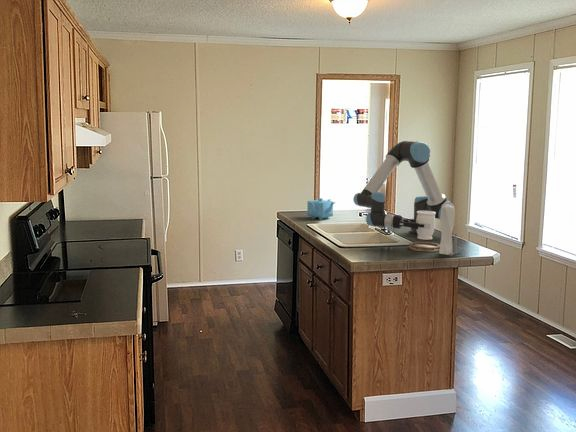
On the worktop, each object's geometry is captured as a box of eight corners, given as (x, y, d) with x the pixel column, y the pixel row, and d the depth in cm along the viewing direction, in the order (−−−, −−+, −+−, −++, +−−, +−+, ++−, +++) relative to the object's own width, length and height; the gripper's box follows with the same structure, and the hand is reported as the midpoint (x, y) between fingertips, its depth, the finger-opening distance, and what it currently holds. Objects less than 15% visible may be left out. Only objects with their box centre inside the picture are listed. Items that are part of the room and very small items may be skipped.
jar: (434, 240, 329) (436, 213, 327) (415, 239, 331) (416, 212, 329) (434, 237, 340) (435, 210, 337) (415, 236, 342) (416, 209, 339)
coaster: (413, 244, 348) (413, 240, 347) (443, 247, 340) (443, 243, 340) (405, 249, 333) (405, 246, 332) (436, 252, 325) (436, 249, 325)
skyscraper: (449, 256, 318) (452, 203, 314) (435, 254, 323) (438, 202, 319) (457, 254, 324) (459, 201, 320) (443, 251, 330) (445, 200, 325)
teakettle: (305, 216, 446) (306, 196, 444) (331, 216, 448) (331, 196, 446) (309, 220, 427) (309, 200, 425) (335, 220, 429) (336, 200, 427)
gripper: (399, 225, 353) (437, 228, 343) (387, 231, 333) (427, 234, 323) (399, 212, 352) (438, 215, 342) (387, 217, 332) (428, 220, 322)
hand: (433, 224), depth 332 cm, fingers closed on jar, 10 cm apart
